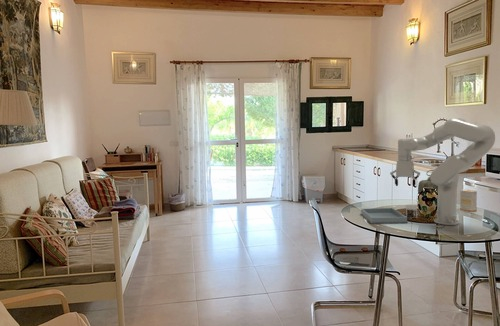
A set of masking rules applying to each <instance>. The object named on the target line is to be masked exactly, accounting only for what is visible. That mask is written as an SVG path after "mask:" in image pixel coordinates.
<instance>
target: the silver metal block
mask: <svg viewBox="0 0 500 326" xmlns="http://www.w3.org/2000/svg"><path fill="white" fill-rule="evenodd" d="M407 210H413V211H414V212H413V214H408V212H407ZM414 214H415V215H416V217H414ZM405 216H406V217H407V219H412V218H417V219H418V206H417V204H405Z"/></svg>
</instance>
